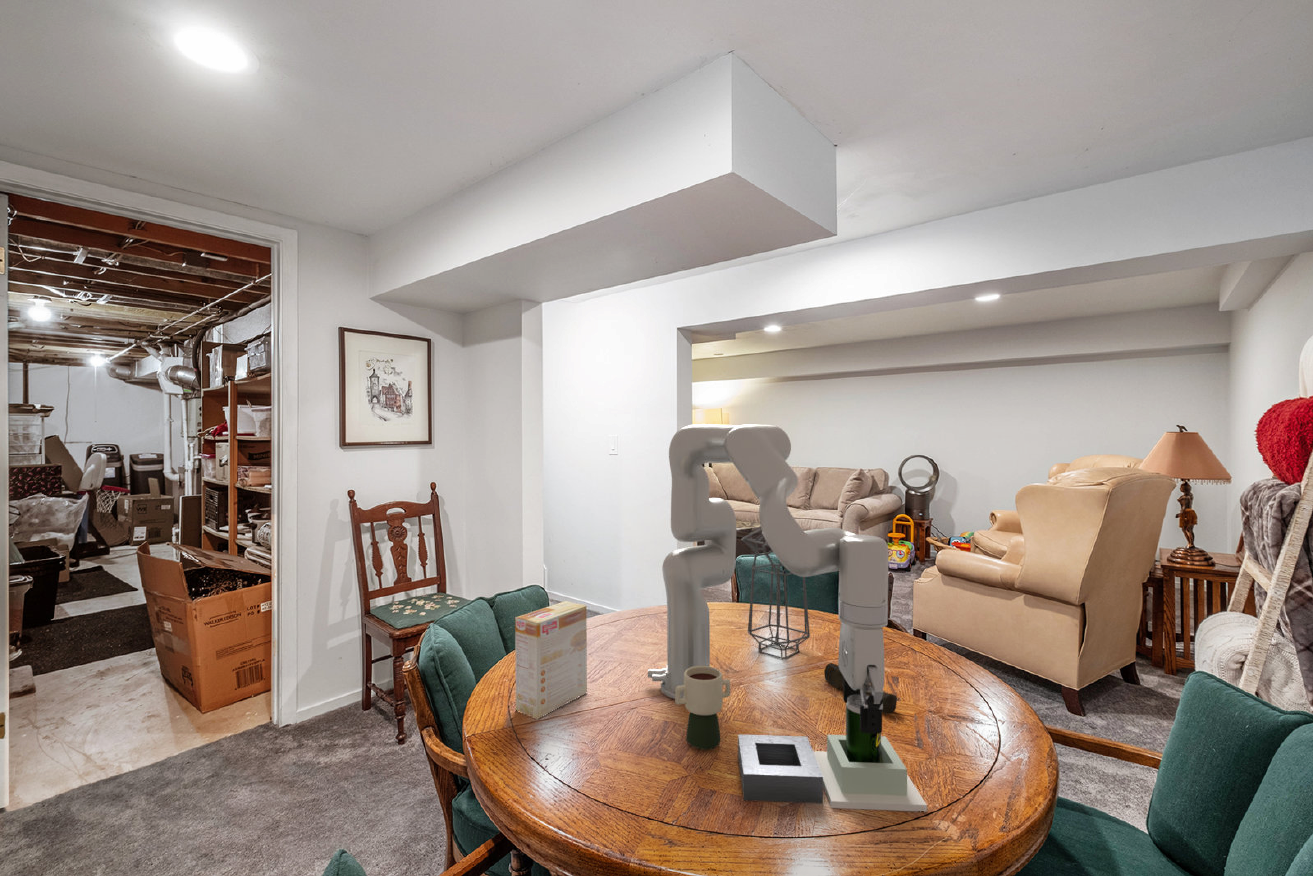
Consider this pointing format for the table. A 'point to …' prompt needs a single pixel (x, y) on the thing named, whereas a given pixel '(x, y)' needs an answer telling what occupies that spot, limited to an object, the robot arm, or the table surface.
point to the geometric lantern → (777, 602)
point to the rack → (867, 780)
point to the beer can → (860, 735)
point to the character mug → (703, 704)
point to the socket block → (779, 769)
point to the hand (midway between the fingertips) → (861, 716)
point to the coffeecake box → (550, 657)
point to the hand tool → (837, 680)
